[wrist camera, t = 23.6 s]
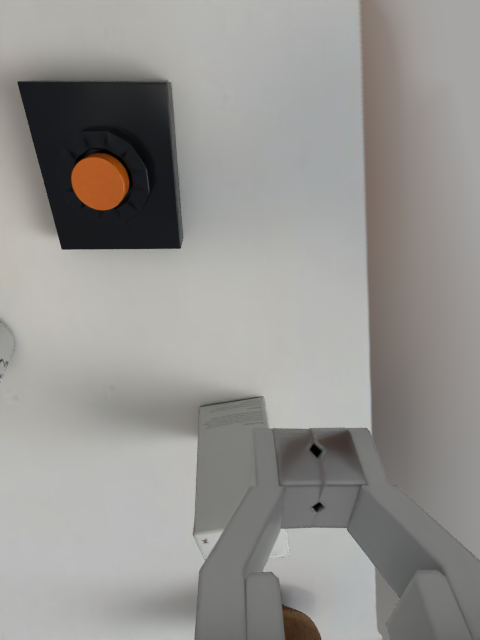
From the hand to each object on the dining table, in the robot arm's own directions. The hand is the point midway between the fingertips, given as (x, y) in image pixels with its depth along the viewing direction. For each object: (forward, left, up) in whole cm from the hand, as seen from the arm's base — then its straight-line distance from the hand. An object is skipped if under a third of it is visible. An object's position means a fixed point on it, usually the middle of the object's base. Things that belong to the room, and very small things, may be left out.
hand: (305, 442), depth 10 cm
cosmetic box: (+21, +18, -27) cm, 38 cm away
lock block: (+6, -9, -26) cm, 28 cm away
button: (+6, -9, -23) cm, 25 cm away
